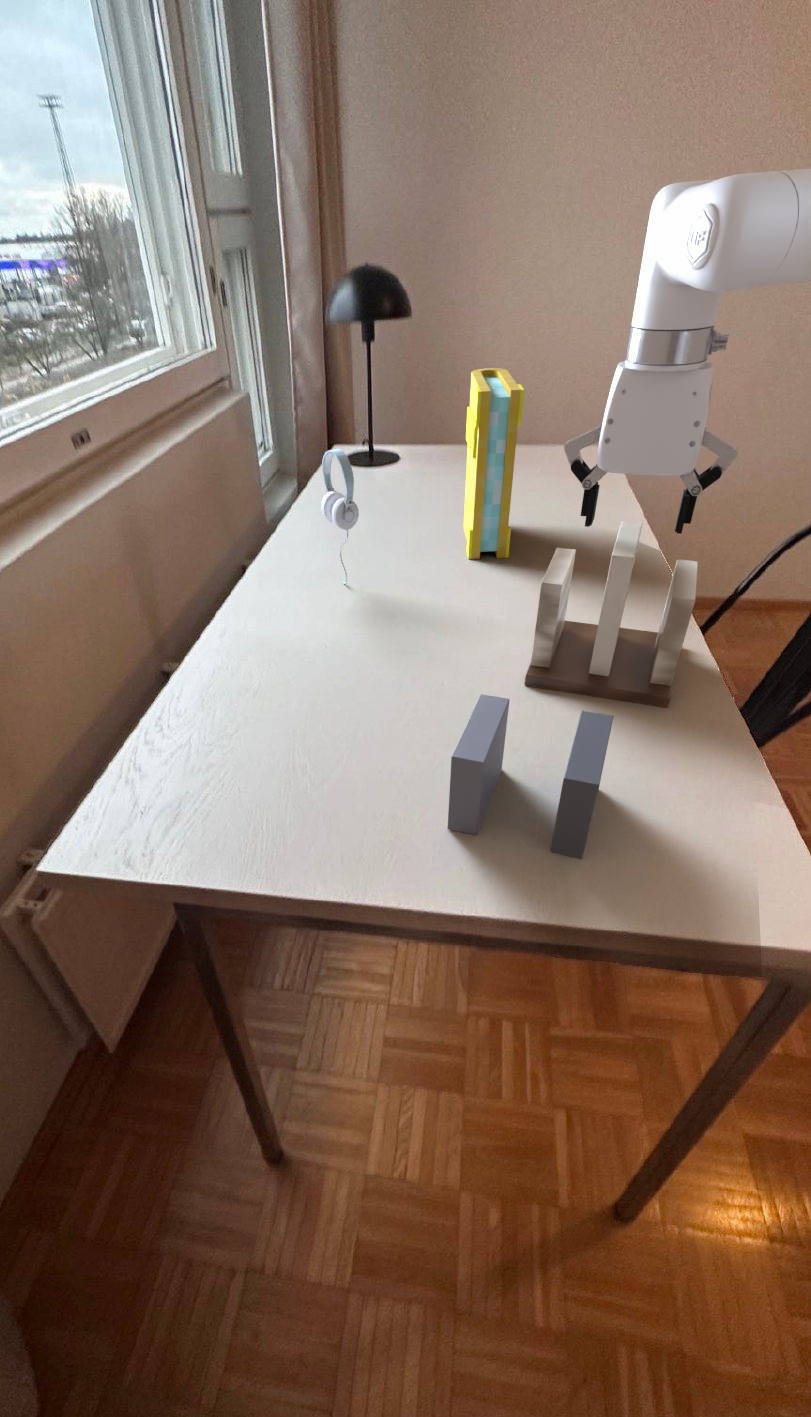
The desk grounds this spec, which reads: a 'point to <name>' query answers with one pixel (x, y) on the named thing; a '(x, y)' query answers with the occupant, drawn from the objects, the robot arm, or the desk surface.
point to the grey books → (482, 765)
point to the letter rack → (638, 654)
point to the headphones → (339, 495)
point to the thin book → (615, 597)
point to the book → (490, 460)
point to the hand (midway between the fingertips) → (633, 526)
